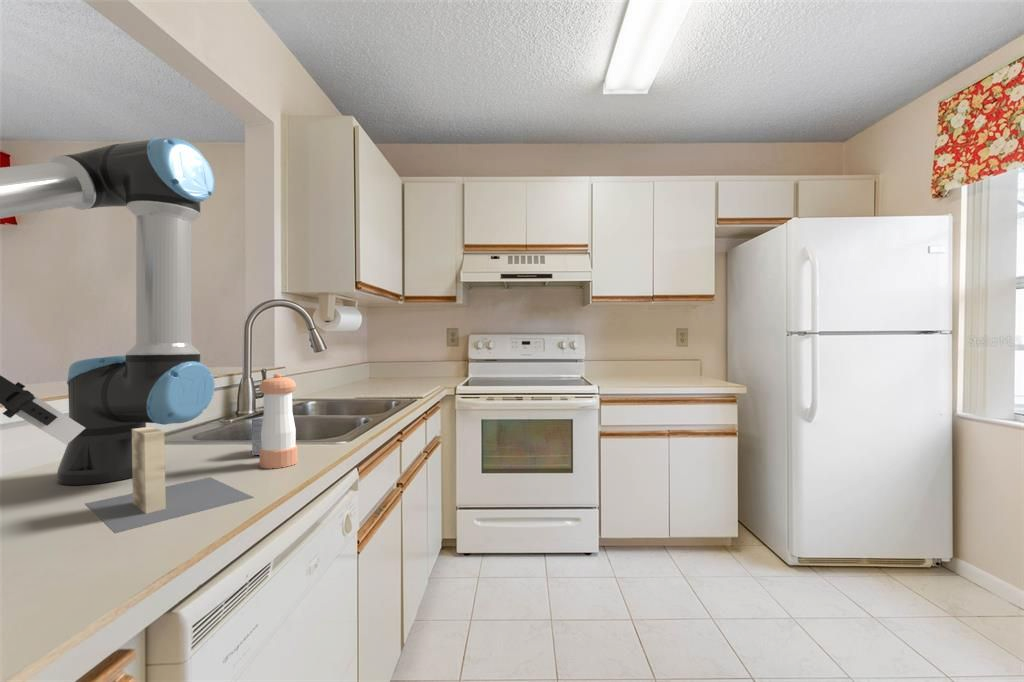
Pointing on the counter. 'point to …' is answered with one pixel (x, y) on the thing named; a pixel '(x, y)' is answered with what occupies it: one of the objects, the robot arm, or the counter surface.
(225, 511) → the counter surface
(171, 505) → the mat
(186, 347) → the robot arm
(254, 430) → the medicine box
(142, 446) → the birch block
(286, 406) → the salt shaker
